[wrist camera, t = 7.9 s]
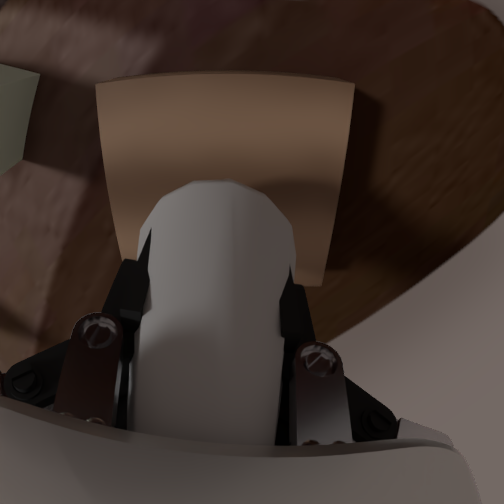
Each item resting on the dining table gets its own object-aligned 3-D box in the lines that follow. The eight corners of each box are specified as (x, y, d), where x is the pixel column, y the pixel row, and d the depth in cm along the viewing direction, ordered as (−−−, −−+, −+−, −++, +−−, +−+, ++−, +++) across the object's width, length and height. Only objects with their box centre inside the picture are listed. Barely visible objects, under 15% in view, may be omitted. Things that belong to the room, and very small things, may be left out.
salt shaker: (291, 158, 12) (424, 584, 2) (283, 274, 16) (326, 573, 5) (143, 162, 12) (-27, 539, 1) (162, 275, 15) (112, 565, 5)
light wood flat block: (312, 257, 22) (321, 286, 20) (139, 255, 22) (128, 283, 19) (337, 77, 15) (355, 83, 13) (117, 77, 15) (95, 84, 12)
